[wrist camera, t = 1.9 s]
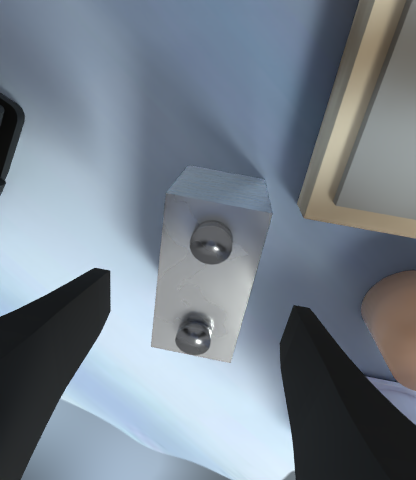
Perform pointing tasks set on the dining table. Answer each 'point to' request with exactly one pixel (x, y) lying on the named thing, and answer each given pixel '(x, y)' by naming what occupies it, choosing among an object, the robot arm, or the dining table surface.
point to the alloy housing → (208, 260)
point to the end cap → (8, 134)
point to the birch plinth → (369, 127)
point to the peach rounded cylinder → (394, 323)
